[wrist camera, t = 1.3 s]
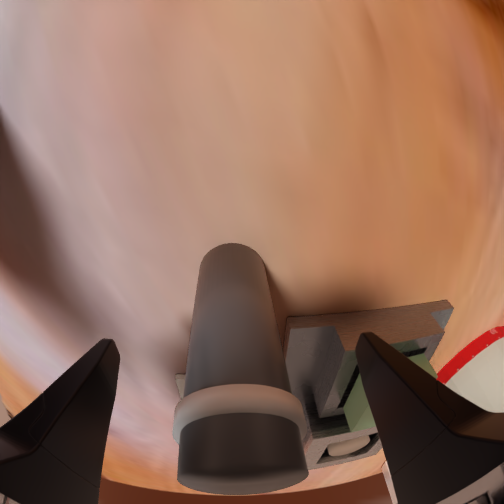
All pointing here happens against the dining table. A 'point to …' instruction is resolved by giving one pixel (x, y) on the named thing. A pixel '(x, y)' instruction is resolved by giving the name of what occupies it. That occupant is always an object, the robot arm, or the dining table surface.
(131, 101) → the dining table surface
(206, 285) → the gray capped cylinder
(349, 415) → the on button
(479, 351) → the kitchen timer
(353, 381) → the grey flat framed piece
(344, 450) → the button
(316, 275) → the dining table surface
